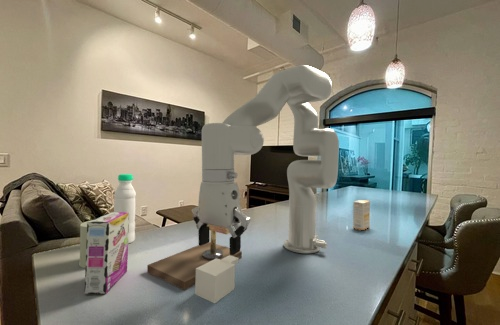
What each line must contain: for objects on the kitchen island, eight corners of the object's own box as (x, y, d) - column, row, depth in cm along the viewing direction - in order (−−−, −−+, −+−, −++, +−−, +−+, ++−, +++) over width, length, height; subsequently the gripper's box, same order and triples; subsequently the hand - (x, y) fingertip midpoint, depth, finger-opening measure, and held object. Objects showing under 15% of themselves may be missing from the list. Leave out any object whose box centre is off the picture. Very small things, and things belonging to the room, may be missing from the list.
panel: (241, 257, 73) (241, 251, 73) (184, 290, 54) (184, 282, 54) (207, 247, 82) (207, 241, 82) (147, 272, 63) (147, 265, 63)
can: (93, 270, 63) (94, 226, 63) (71, 264, 66) (72, 223, 66) (123, 257, 72) (123, 219, 72) (101, 253, 75) (102, 216, 75)
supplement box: (359, 225, 115) (360, 199, 115) (369, 228, 111) (370, 200, 111) (352, 228, 109) (353, 201, 109) (362, 231, 106) (363, 202, 106)
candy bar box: (107, 295, 52) (108, 222, 52) (83, 295, 51) (85, 222, 51) (128, 271, 63) (130, 211, 63) (109, 271, 63) (110, 211, 63)
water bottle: (125, 246, 81) (127, 175, 81) (108, 244, 83) (109, 174, 82) (139, 239, 88) (140, 174, 88) (123, 238, 89) (124, 173, 89)
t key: (191, 254, 70) (192, 218, 70) (205, 248, 75) (206, 214, 75) (221, 264, 64) (222, 225, 64) (234, 257, 69) (235, 220, 69)
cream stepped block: (242, 283, 59) (243, 259, 59) (214, 303, 50) (215, 276, 50) (224, 276, 62) (225, 253, 62) (195, 294, 53) (195, 268, 53)
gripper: (257, 177, 53) (258, 251, 53) (203, 173, 62) (204, 236, 63) (238, 180, 46) (238, 263, 47) (181, 176, 56) (182, 245, 57)
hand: (218, 248), depth 55 cm, fingers open, 9 cm apart
